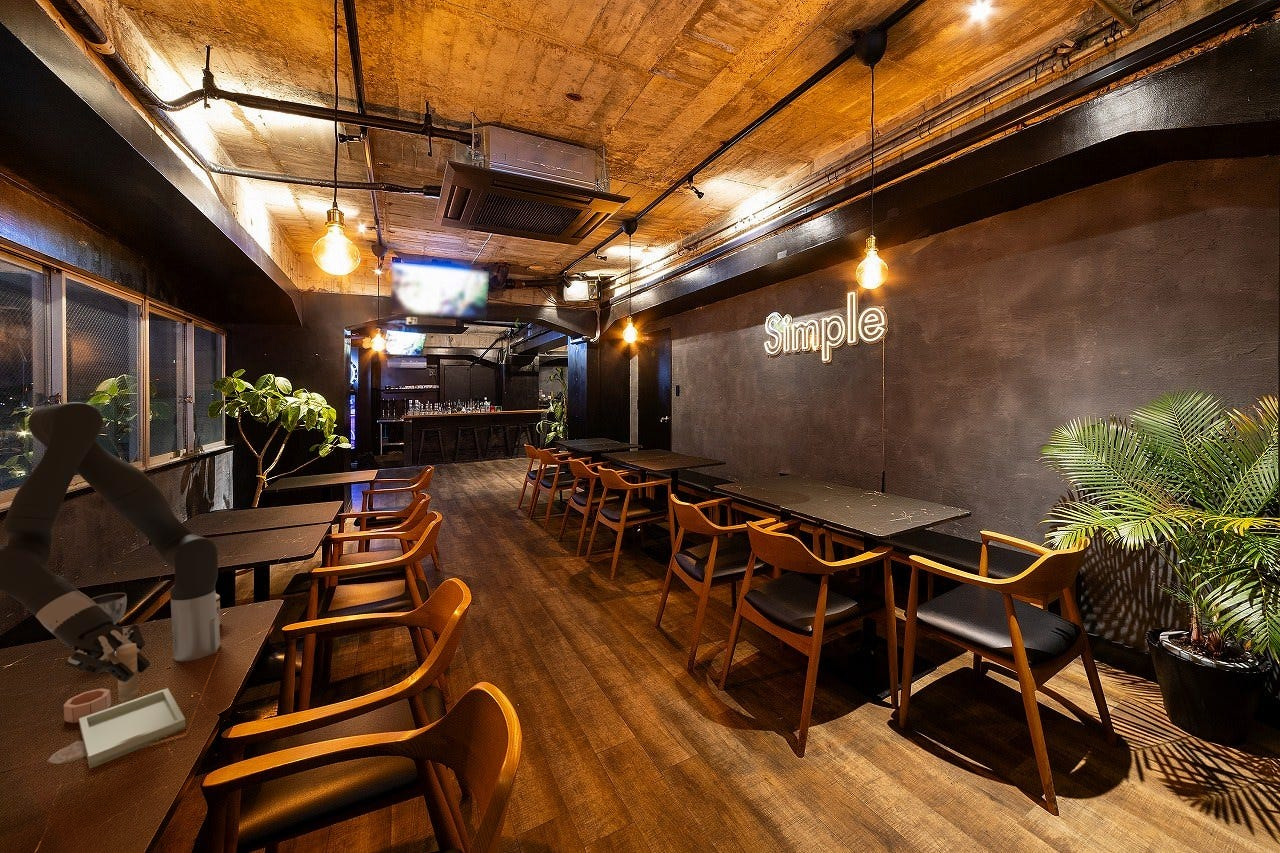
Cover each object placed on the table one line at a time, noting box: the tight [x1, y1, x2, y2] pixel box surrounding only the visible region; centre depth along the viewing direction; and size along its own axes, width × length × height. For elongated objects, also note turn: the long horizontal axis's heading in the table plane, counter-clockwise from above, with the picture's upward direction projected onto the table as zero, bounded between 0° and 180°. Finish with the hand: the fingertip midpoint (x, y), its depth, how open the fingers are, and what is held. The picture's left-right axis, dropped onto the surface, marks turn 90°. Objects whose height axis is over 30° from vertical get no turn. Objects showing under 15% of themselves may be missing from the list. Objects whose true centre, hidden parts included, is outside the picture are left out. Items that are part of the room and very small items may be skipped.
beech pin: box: [116, 643, 140, 701], centre depth 106 cm, size 3×3×11 cm
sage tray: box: [78, 687, 187, 769], centre depth 107 cm, size 18×14×2 cm
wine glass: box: [90, 592, 128, 646], centre depth 138 cm, size 8×8×15 cm
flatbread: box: [46, 739, 87, 765], centre depth 100 cm, size 8×8×1 cm
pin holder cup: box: [63, 688, 112, 724], centre depth 112 cm, size 7×7×4 cm
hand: (137, 673), depth 106 cm, fingers closed on beech pin, 3 cm apart
